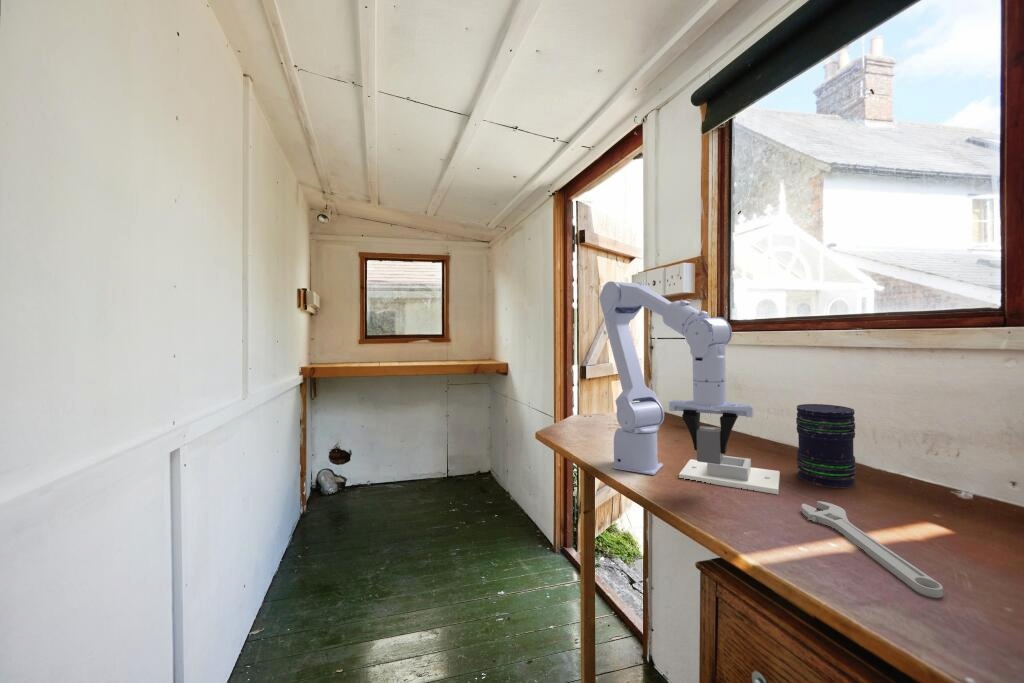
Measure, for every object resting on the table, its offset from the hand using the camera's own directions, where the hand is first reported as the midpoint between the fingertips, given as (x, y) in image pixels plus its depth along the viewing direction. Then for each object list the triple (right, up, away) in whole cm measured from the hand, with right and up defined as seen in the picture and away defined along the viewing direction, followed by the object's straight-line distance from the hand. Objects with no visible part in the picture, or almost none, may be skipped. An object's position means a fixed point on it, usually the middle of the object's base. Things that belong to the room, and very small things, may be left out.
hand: (710, 450), depth 81 cm
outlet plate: (+9, -8, +9) cm, 15 cm away
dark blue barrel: (+27, -8, +7) cm, 29 cm away
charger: (0, -2, 0) cm, 2 cm away
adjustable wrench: (+13, -9, -19) cm, 25 cm away
